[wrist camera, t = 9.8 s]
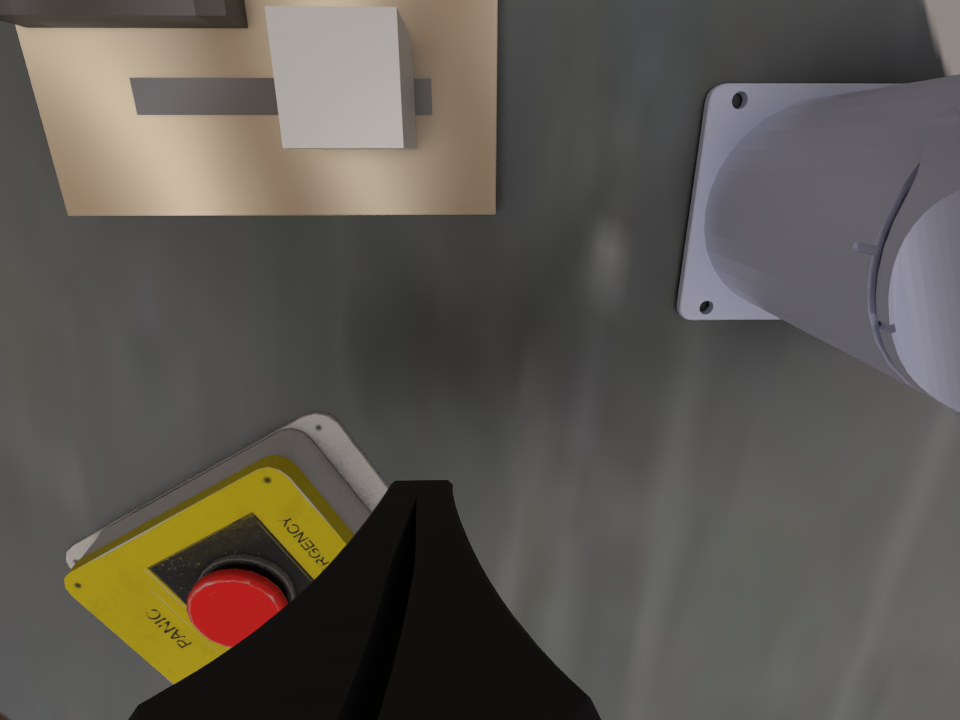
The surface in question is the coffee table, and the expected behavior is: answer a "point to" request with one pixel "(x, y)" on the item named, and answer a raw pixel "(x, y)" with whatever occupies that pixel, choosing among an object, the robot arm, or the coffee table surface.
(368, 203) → the control panel
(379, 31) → the grey slider
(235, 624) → the emergency button
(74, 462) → the coffee table surface
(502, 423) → the coffee table surface
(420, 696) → the robot arm
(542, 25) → the coffee table surface
